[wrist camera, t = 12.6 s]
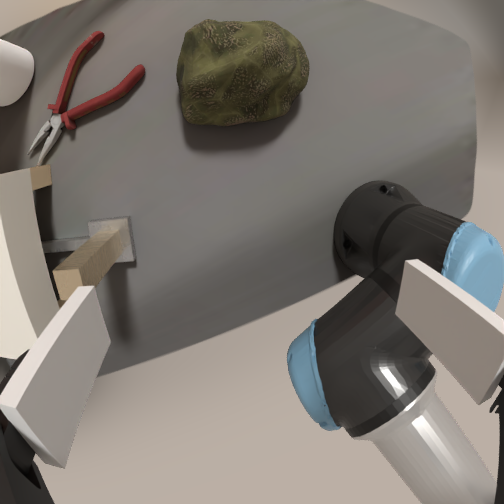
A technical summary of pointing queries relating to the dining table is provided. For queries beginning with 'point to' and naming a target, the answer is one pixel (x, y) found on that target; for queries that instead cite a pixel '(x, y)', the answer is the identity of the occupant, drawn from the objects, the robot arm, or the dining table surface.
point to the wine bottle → (14, 72)
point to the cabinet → (23, 264)
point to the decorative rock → (239, 72)
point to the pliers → (100, 101)
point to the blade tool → (92, 253)
